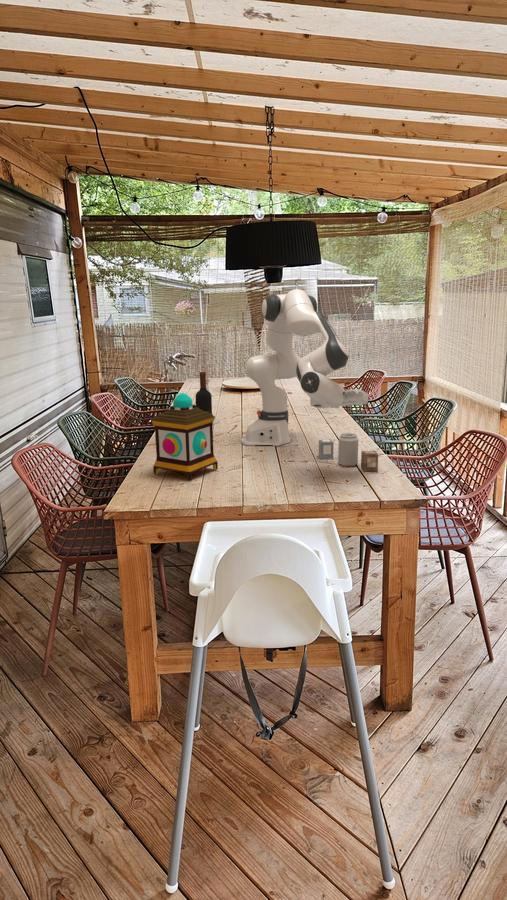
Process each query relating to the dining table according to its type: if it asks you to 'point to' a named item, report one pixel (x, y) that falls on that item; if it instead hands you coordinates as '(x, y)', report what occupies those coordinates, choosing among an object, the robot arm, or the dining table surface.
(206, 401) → the wine bottle
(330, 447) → the slate block
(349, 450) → the can
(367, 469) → the walnut block
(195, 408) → the decorative lantern
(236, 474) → the dining table surface
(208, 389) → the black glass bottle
